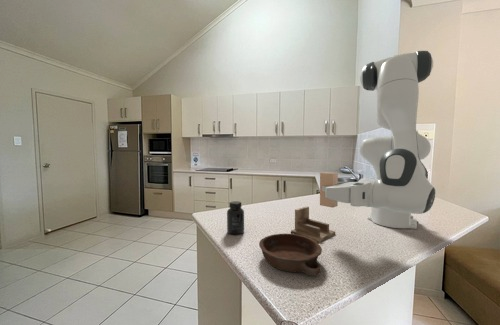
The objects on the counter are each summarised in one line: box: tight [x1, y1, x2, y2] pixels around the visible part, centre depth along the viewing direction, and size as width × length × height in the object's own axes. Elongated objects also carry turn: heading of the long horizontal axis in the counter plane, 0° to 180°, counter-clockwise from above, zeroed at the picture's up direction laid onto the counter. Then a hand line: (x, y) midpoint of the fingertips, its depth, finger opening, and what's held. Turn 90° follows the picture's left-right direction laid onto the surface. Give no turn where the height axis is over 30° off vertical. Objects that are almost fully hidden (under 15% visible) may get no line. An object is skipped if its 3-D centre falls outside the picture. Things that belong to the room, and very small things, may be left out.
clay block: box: [319, 171, 339, 209], centre depth 77 cm, size 4×5×12 cm
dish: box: [258, 233, 323, 277], centre depth 61 cm, size 18×22×5 cm
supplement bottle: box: [226, 200, 245, 236], centre depth 83 cm, size 7×7×12 cm
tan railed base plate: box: [290, 205, 336, 244], centre depth 82 cm, size 12×12×9 cm
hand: (326, 187), depth 77 cm, fingers closed on clay block, 3 cm apart
